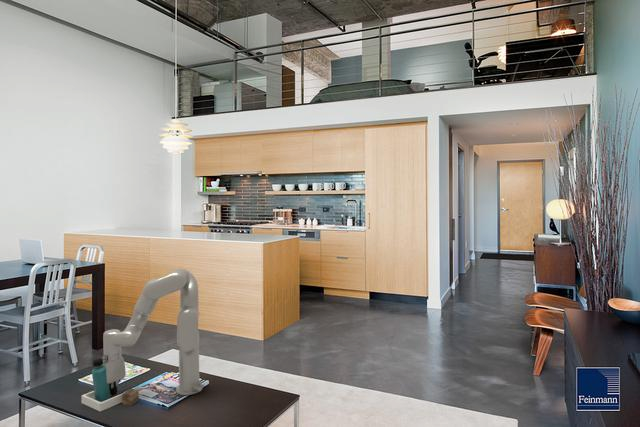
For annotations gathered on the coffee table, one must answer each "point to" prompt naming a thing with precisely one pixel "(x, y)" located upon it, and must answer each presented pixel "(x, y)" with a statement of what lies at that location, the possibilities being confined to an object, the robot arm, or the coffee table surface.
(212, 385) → the coffee table surface
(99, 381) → the beverage bottle
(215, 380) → the coffee table surface
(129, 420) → the coffee table surface
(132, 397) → the walnut block
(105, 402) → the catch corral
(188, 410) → the coffee table surface
